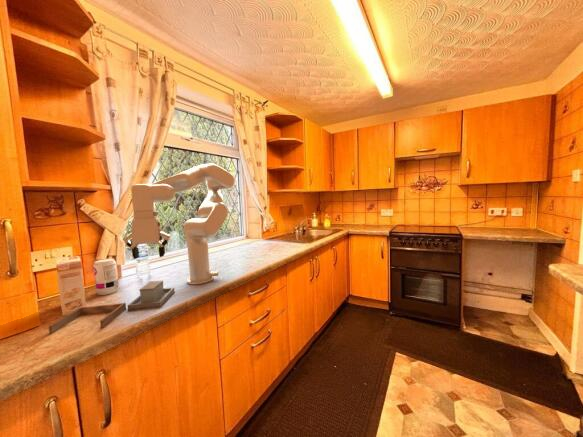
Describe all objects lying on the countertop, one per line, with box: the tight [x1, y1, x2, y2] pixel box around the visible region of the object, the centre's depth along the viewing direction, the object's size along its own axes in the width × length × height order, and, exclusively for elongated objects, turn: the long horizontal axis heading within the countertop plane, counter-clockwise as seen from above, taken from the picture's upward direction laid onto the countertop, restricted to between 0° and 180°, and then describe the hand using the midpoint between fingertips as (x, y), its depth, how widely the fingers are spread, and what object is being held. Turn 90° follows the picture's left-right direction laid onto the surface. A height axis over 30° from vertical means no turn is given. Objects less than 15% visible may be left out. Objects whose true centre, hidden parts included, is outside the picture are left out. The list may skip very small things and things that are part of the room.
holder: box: [48, 302, 127, 335], centre depth 83 cm, size 16×14×2 cm
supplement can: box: [92, 258, 120, 296], centre depth 110 cm, size 8×8×15 cm
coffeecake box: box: [55, 255, 87, 317], centre depth 94 cm, size 15×7×20 cm, turn 45°
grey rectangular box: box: [139, 280, 164, 303], centre depth 98 cm, size 5×9×6 cm, turn 7°
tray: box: [126, 287, 175, 312], centre depth 98 cm, size 12×16×2 cm
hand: (149, 257), depth 97 cm, fingers open, 9 cm apart
